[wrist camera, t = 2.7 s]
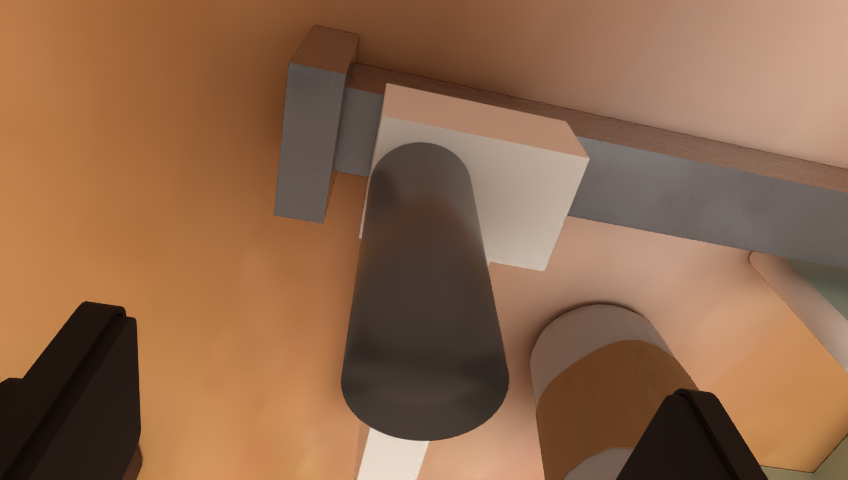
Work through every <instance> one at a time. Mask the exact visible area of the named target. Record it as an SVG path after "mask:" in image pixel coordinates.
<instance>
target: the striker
mask: <svg viewBox="0 0 848 480" xmlns="http://www.w3.org/2000/svg"><path fill="white" fill-rule="evenodd" d="M589 159H590V158H589V156H588V155H587V153H586V152H585V150H584V149H583V147H582V145H581V144H580V142H579V141H578V139H577V138H576V136H575V135H574V133H573V131H572V130H571V128H570V127H569V125H568V124H567V122H566V121H562V120H557V119H553V118H548V117H543V116H539V115H534V114H529V113H525V112H520V111H515V110H511V109H506V108H501V107H497V106H492V105H487V104H483V103H478V102H473V101H469V100H464V99H459V98H455V97H450V96H445V95H441V94H436V93H431V92H427V91H422V90H417V89H413V88H408V87H403V86H399V85H394V84H389V83H386V88H385V93H384V99H383V104H382V109H381V115H380V120H379V125H378V130H377V136H376V141H375V146H374V151H373V157H372V162H371V167H370V173H369V178H368V183H367V188H366V194H365V200H364V207H363V213H362V220H361V227H360V233H359V238H360V239H361V245H360V252H359V258H358V265H357V272H356V279H355V286H354V293H353V300H352V307H351V314H350V321H349V328H348V335H347V342H346V348H345V355H344V362H343V369H342V377H341V386H342V392H343V396H344V398H345V401H346V403H347V405H348V406H349V408H350V409H351V411H352V412H353V413H354V414H355V415H356V416H357V417H358V418H359V419H360V423H359V433H358V443H357V453H356V463H355V474H354V480H416V479H417V476H418V473H419V470H420V467H421V465H422V462H423V459H424V456H425V453H426V450H427V447H428V444H429V441H434V440H442V439H448V438H452V437H455V436H459V435H461V434H464V433H467V432H469V431H471V430H473V429H475V428H477V427H478V426H480V425H482V424H483V423H484V422H486V421H487V420H488V419H489V418H491V417H492V416H493V415H494V413H495V412H496V411H497V410H498V409H499V407H500V406H501V405H502V403H503V401H504V399H505V397H506V394H507V391H508V385H509V373H508V368H507V363H506V358H505V353H504V347H503V342H502V337H501V332H500V327H499V322H498V317H497V311H496V306H495V301H494V296H493V291H492V286H491V281H490V276H489V270H488V267H489V264H490V262H494V263H500V264H505V265H511V266H517V267H522V268H528V269H534V270H539V271H545V269H546V266H547V264H548V261H549V259H550V256H551V254H552V251H553V249H554V246H555V244H556V241H557V239H558V236H559V234H560V231H561V229H562V226H563V224H564V221H565V219H566V216H567V214H568V212H569V209H570V207H571V204H572V202H573V199H574V197H575V194H576V192H577V189H578V187H579V184H580V182H581V179H582V177H583V174H584V172H585V169H586V167H587V164H588V162H589Z"/></svg>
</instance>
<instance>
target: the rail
mask: <svg viewBox="0 0 848 480" xmlns="http://www.w3.org/2000/svg"><path fill="white" fill-rule="evenodd" d="M358 42H359V35H358V34H353V33H349V32H344V31H340V30H335V29H331V28H326V27H322V26H318V25H314V27H313V28H312V30H311V31H310V33H309V34H308V35H307V37H306V38H305V40H304V41H303V43H302V44H301V46H300V47H299V49H298V50H297V51H296V53H295V54H294V56H293V57H292V59H291V60H290V62H289V67H288V77H287V87H286V97H285V108H284V118H283V128H282V138H281V148H280V158H279V168H278V178H277V188H276V198H275V209H274V215H277V216H283V217H288V218H294V219H299V220H305V221H311V222H316V223H322V224H323V222H324V219H325V215H326V211H327V207H328V203H329V200H330V196H331V192H332V188H333V184H334V181H335V177H336V173H337V171H339V172H344V173H349V174H355V175H360V176H365V177H369V173H370V167H371V162H372V157H373V151H374V146H375V141H376V136H377V130H378V125H379V120H380V115H381V109H382V104H383V99H384V93H385V88H386V83H389V84H394V85H399V86H403V87H408V88H413V89H417V90H422V91H427V92H431V93H436V94H441V95H445V96H450V97H455V98H459V99H464V100H469V101H473V102H478V103H483V104H487V105H492V106H497V107H501V108H506V109H511V110H515V111H520V112H525V113H529V114H534V115H539V116H543V117H548V118H553V119H557V120H562V121H566V122H567V124H568V125H569V127H570V128H571V130H572V131H573V133H574V135H575V136H576V138H577V139H578V141H579V142H580V144H581V145H582V147H583V149H584V150H585V152H586V153H587V155H588V156H589V158H590V159H589V162H588V164H587V167H586V169H585V172H584V174H583V177H582V179H581V182H580V184H579V187H578V189H577V192H576V194H575V197H574V199H573V202H572V204H571V207H570V209H569V212H568V214H567V215H568V216H573V217H578V218H583V219H588V220H594V221H599V222H604V223H609V224H614V225H620V226H625V227H630V228H635V229H640V230H646V231H651V232H656V233H661V234H666V235H671V236H677V237H682V238H687V239H692V240H697V241H703V242H708V243H713V244H718V245H723V246H729V247H734V248H739V249H744V250H749V251H755V252H760V253H765V254H770V255H775V256H781V257H786V258H791V259H796V260H801V261H807V262H812V263H817V264H822V265H827V266H833V267H838V268H843V269H848V170H847V169H842V168H838V167H833V166H828V165H824V164H819V163H815V162H810V161H805V160H801V159H796V158H792V157H787V156H782V155H778V154H773V153H769V152H764V151H759V150H755V149H750V148H746V147H741V146H736V145H732V144H727V143H723V142H718V141H713V140H709V139H704V138H700V137H695V136H690V135H686V134H681V133H677V132H672V131H667V130H663V129H658V128H654V127H649V126H644V125H640V124H635V123H631V122H626V121H621V120H617V119H612V118H608V117H603V116H598V115H594V114H589V113H585V112H580V111H575V110H571V109H566V108H562V107H557V106H552V105H548V104H543V103H539V102H534V101H529V100H525V99H520V98H516V97H511V96H506V95H502V94H497V93H493V92H488V91H483V90H479V89H474V88H470V87H465V86H460V85H456V84H451V83H447V82H442V81H437V80H433V79H428V78H424V77H419V76H414V75H410V74H405V73H401V72H396V71H392V70H387V69H382V68H378V67H373V66H369V65H364V64H359V63H355V61H356V54H357V48H358Z"/></svg>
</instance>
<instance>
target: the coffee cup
mask: <svg viewBox="0 0 848 480" xmlns="http://www.w3.org/2000/svg"><path fill="white" fill-rule="evenodd" d="M530 369H531V377H532V384H533V390H534V397H535V404H536V419H537V428H538V434H539V441H540V448H541V455H542V462H543V469H544V476H545V480H616V478H617V476H618V475H619V473H620V471H621V470H622V468H623V466H624V465H625V463H626V461H627V460H628V458H629V456H630V455H631V453H632V452H633V450H634V448H635V447H636V445H637V443H638V442H639V440H640V438H641V437H642V435H643V433H644V432H645V430H646V428H647V427H648V425H649V423H650V422H651V420H652V418H653V417H654V415H655V413H656V412H657V410H658V408H659V407H660V405H661V403H662V402H663V400H664V399H665V398H666V396H668V395H672V394H673V393H674V392H675V391H676V390H677V389H679V388H683V389H691V390H698V391H699V389H698V388H697V386H696V385H695V383H694V382H693V380H692V379H691V377H690V376H689V375H688V373H687V372H686V371H685V370H684V368H683V367H682V366H681V365H680V363H679V362H678V361H677V360H676V358H675V357H674V355H673V354H672V352H671V351H670V349H669V348H668V346H667V345H666V343H665V342H664V340H663V339H662V337H661V336H660V334H659V333H658V331H657V330H656V329H655V328H654V327H653V325H652V324H651V323H650V322H649V321H648V320H646V319H645V318H643V317H642V316H640V315H638V314H637V313H633V312H632V311H630V310H628V309H626V308H622V307H619V306H616V305H605V304H596V305H589V306H582V307H579V308H577V309H574V310H571V311H568V312H566V313H564V314H563V315H561V316H559V317H558V318H556V319H555V320H553V321H552V322H551V323H550V324H549V325H548V326H547V327H546V328H545V329H544V330H543V331H542V333H541V334H540V336H539V338H538V339H537V341H536V345H535V347H534V348H533V351H532V355H531V359H530Z"/></svg>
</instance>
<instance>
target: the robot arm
mask: <svg viewBox="0 0 848 480" xmlns="http://www.w3.org/2000/svg"><path fill="white" fill-rule="evenodd" d="M140 433H141V419H140V394H139V369H138V344H137V323H136V319H135V318H133V317H127V316H126V311H125V309H124V307H121V306H115V305H108V304H101V303H94V302H87V301H86V302H83V303H82V304H81V305H80V306H79V307H78V308H77V309H76V310H75V312H74V313H73V314H72V315H71V317H70V318H69V319H68V321H67V322H66V323H65V324H64V326H63V327H62V328H61V330H60V331H59V332H58V333H57V335H56V336H55V337H54V339H53V340H52V341H51V342H50V344H49V345H48V346H47V348H46V349H45V350H44V351H43V353H42V354H41V355H40V357H39V358H38V359H37V360H36V362H35V363H34V364H33V366H32V367H31V368H30V369H29V371H28V372H27V373H26V375H25V376H24V377H23V378H22V379H20V378H8V379H6V380H4V381H3V382H1V383H0V480H122V478H123V476H124V474H125V472H126V470H127V468H128V466H129V464H130V462H131V459H132V457H133V455H134V453H135V451H136V448H137V445H138V442H139V438H140ZM616 480H768V478H767V476H766V475H765V473H764V472H763V470H762V468H761V467H760V465H759V463H758V462H757V460H756V459H755V457H754V455H753V454H752V452H751V451H750V449H749V447H748V446H747V444H746V443H745V441H744V439H743V438H742V436H741V435H740V433H739V431H738V430H737V428H736V427H735V425H734V423H733V422H732V420H731V419H730V417H729V415H728V414H727V412H726V411H725V409H724V407H723V406H722V404H721V403H720V401H719V399H718V398H717V397H716V396H715V395H714V394H712V393H710V392H704V391H698V390H691V389H683V388H679V389H677V390H676V391H675V392H674V393H673V394H672V395H668V396H666V398H665V399H664V400H663V402H662V403H661V405H660V407H659V408H658V410H657V412H656V413H655V415H654V417H653V418H652V420H651V422H650V423H649V425H648V427H647V428H646V430H645V432H644V433H643V435H642V437H641V438H640V440H639V442H638V443H637V445H636V447H635V448H634V450H633V452H632V453H631V455H630V456H629V458H628V460H627V461H626V463H625V465H624V466H623V468H622V470H621V471H620V473H619V475H618V476H617V478H616Z"/></svg>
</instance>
